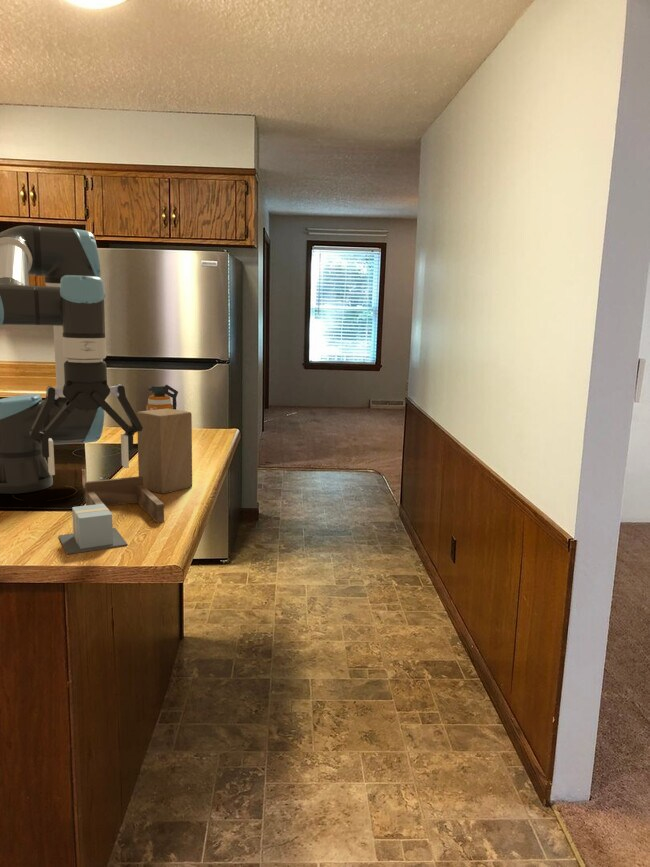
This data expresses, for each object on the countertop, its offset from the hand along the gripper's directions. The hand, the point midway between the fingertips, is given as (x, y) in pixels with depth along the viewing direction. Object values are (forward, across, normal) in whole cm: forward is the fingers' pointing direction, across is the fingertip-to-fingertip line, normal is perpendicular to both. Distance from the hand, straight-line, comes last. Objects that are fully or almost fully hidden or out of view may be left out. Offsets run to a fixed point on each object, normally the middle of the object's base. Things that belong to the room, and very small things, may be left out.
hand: (89, 470), depth 123 cm
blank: (+14, 0, -1) cm, 14 cm away
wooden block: (+15, +24, +33) cm, 44 cm away
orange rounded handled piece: (+17, +42, +98) cm, 108 cm away
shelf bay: (+15, +9, +14) cm, 22 cm away
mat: (+14, 0, -1) cm, 14 cm away
